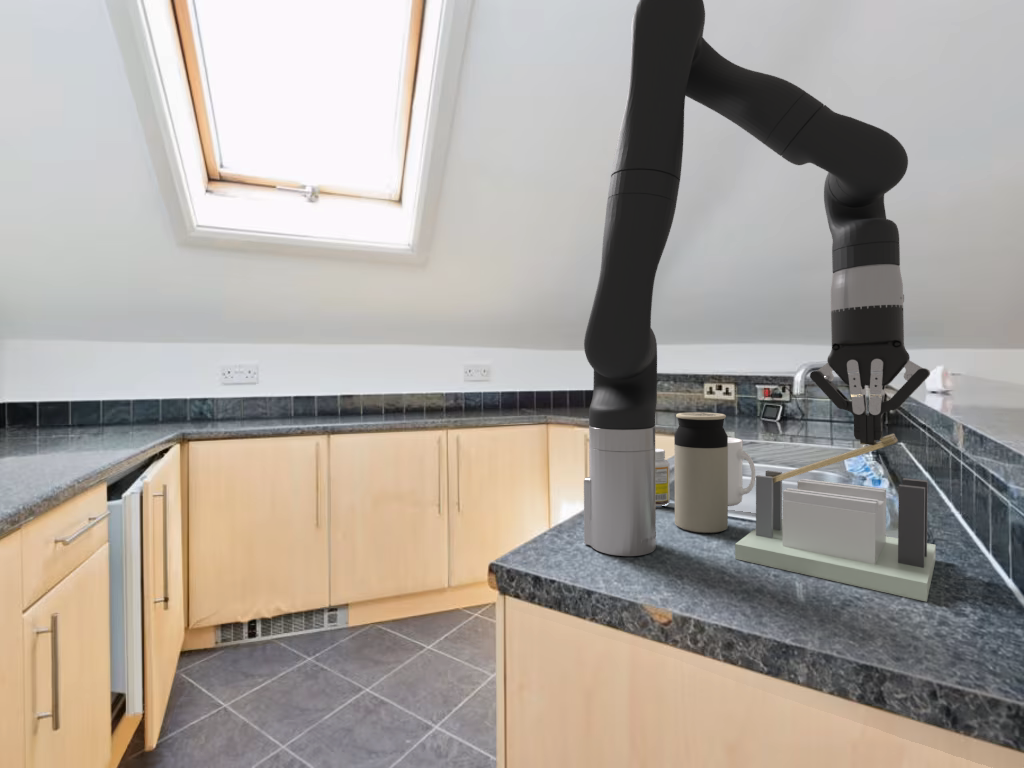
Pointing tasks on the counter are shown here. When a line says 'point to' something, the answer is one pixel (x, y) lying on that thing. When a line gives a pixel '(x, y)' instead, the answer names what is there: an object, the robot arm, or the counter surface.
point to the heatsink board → (843, 567)
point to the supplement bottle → (662, 478)
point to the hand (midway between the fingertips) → (868, 443)
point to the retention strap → (838, 458)
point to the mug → (737, 471)
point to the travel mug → (701, 472)
